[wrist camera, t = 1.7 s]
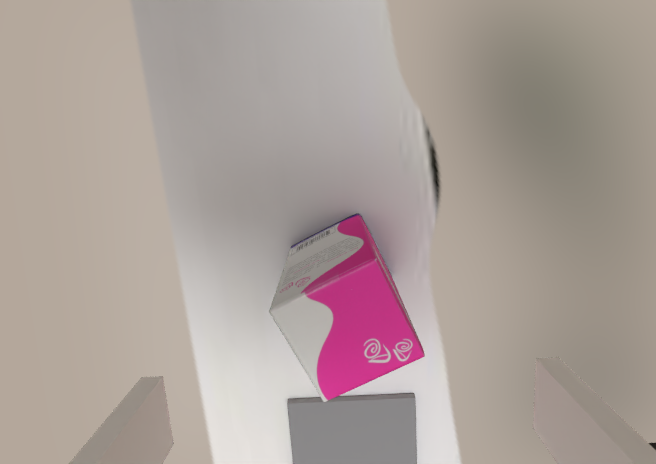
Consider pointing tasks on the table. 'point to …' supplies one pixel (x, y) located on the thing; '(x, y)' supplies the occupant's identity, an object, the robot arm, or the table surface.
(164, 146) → the table surface
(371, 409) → the slate coaster
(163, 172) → the table surface
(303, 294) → the supplement box
